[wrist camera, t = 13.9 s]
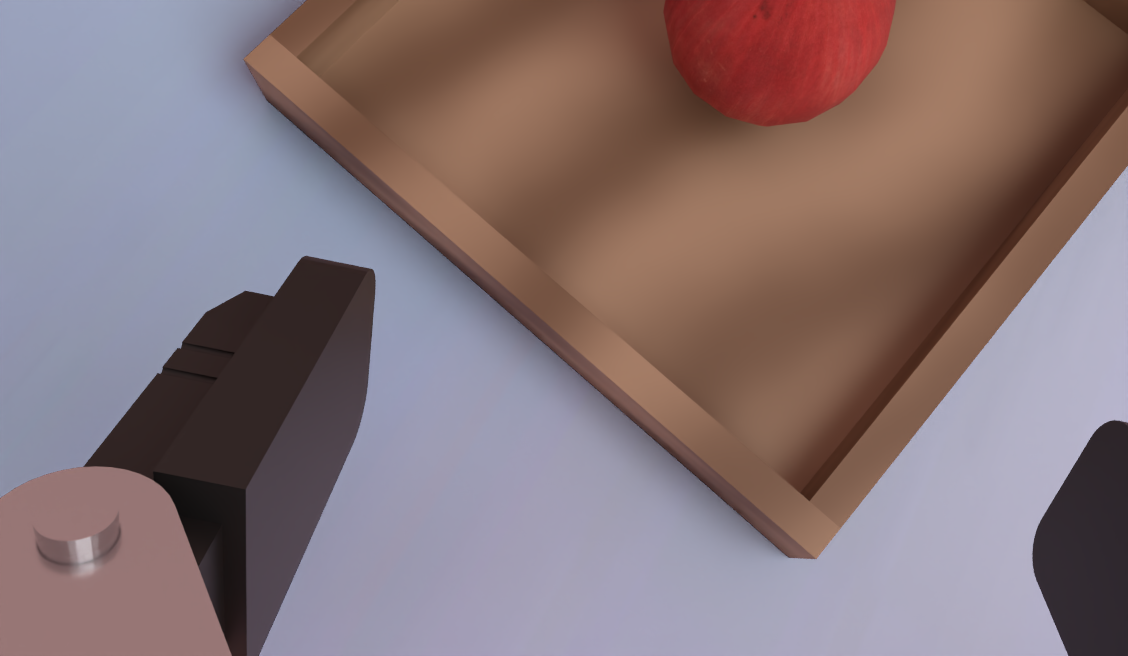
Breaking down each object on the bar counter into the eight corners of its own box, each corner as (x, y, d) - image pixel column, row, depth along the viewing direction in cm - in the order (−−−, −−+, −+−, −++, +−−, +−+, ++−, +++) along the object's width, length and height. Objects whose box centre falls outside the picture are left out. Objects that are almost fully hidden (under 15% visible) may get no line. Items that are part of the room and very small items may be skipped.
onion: (611, 40, 29) (644, -146, 21) (772, -42, 30) (862, -251, 22) (713, 202, 28) (789, 69, 20) (878, 112, 29) (1011, -49, 21)
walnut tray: (266, 100, 29) (243, 59, 26) (694, -304, 33) (708, -373, 30) (788, 557, 27) (816, 558, 24) (1181, 66, 30) (1239, 23, 28)
